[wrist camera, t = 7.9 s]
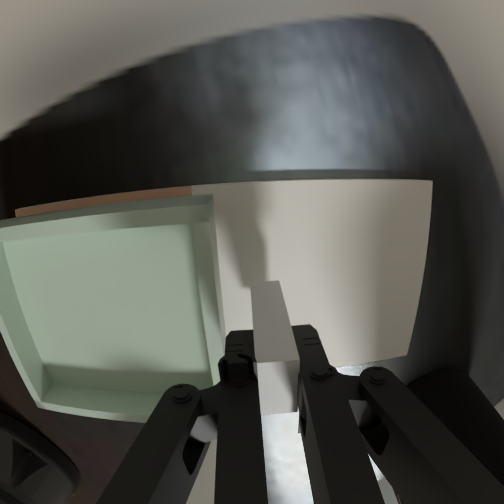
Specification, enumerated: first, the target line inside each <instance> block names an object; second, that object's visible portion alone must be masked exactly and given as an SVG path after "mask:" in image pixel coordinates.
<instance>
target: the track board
mask: <svg viewBox="0 0 504 504" xmlns="http://www.w3.org/2000/svg"><path fill="white" fill-rule="evenodd" d="M432 185H433V181H430V180H414V179H293V180H267V181H248V182H231V183H216V184H203V185H191V186H179V187H169V188H159V189H149V190H140V191H131V192H123V193H115V194H107V195H100V196H92V197H85V198H78V199H72V200H65V201H59V202H53V203H47V204H41V205H35V206H30V207H24V208H19V209H17V210H15V214H16V217H22V216H28V215H34V214H40V213H46V212H53V211H60V210H67V209H74V208H81V207H89V206H96V205H104V204H113V203H121V202H130V201H140V200H149V199H160V198H170V197H182V196H194V195H207V194H213V198H214V211H215V224H216V236H217V247H218V258H219V269H220V280H221V290H222V300H223V310H224V320H225V329H226V336H227V335H228V334H229V332H230V331H234V330H252V329H253V320H252V304H251V288H250V282H261V281H276V280H279V282H280V286H281V289H282V293H283V297H284V301H285V304H286V308H287V312H288V316H289V320H290V323H291V326H295V325H306V324H310V325H312V326H313V327H314V328H315V329H316V330H317V332H318V334H319V338H320V340H321V342H322V345H323V348H324V350H325V353H326V356H327V358H328V361H329V364H330V365H332V366H333V367H335V368H336V367H343V366H350V365H357V364H363V363H369V362H375V361H380V360H386V359H391V358H396V357H401V356H406V355H407V353H408V349H409V345H410V341H411V336H412V332H413V328H414V323H415V318H416V313H417V309H418V303H419V298H420V293H421V287H422V281H423V275H424V268H425V261H426V254H427V246H428V237H429V227H430V216H431V203H432Z"/></svg>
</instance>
